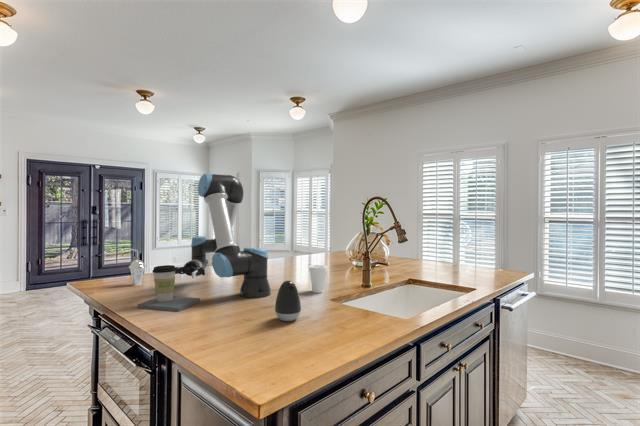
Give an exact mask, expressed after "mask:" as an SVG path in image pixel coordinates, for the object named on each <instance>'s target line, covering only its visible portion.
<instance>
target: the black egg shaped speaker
mask: <svg viewBox="0 0 640 426" xmlns="http://www.w3.org/2000/svg"><path fill="white" fill-rule="evenodd" d="M301 311H302V306H301V298H300V294H299V291H298V288H297V286H296V284H295V283H294V282H293V281H292V280H285V281H283V282H282V283H281V285H280V287H279V289H278V292H277V295H276V298H275V303H274V312H275V315H276V317H277V318H278V319H279V320H280V321H282V322H283V321H284V322H292V321H295V320H297V319H298V318H299V316H300V314H301Z"/></svg>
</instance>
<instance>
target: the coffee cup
mask: <svg viewBox="0 0 640 426" xmlns="http://www.w3.org/2000/svg"><path fill="white" fill-rule="evenodd" d="M175 267H176V266H175V265H172V264H171V265H167V264H165V265H164V264H163V265H157V266H154V267H153V270H152V273H153V282H154V288H155V294H156V297H157V301H158V302H167V301H171V300H173V296H174V293H175V292H174V291H175V283H176V282H175V281H176V274H175V271H176V268H175Z"/></svg>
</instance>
